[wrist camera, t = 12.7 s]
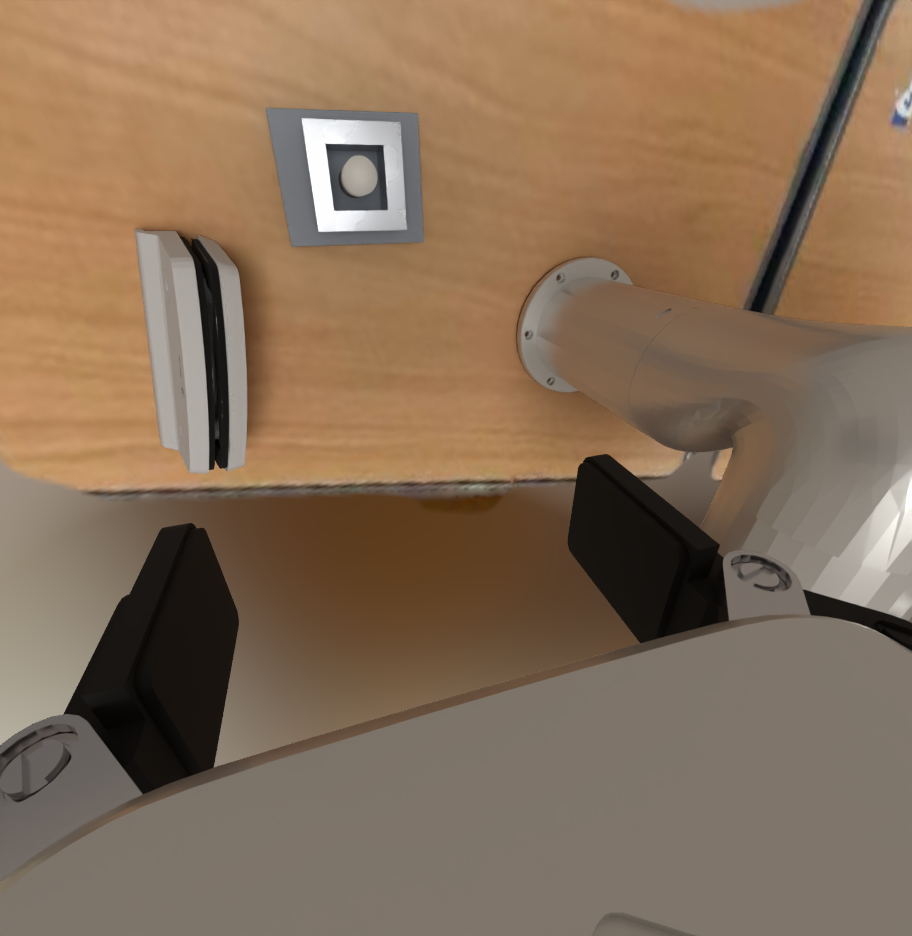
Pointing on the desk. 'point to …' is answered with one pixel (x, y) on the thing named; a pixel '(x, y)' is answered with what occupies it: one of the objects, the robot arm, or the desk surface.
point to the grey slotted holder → (195, 348)
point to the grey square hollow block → (356, 138)
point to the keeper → (343, 178)
